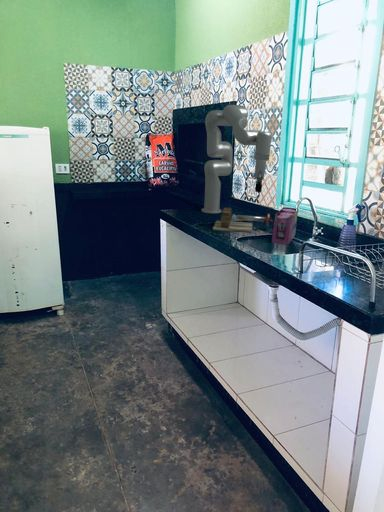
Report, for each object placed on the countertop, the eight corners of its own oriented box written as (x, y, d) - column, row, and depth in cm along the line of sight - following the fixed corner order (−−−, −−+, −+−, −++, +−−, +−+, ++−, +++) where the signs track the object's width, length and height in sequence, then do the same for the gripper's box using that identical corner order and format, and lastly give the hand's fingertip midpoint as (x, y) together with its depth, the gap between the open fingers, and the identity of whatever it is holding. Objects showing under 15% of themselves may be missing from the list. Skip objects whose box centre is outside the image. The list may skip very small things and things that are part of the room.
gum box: (287, 246, 188) (291, 217, 184) (270, 243, 191) (273, 215, 186) (295, 234, 209) (298, 208, 205) (280, 232, 212) (282, 206, 208)
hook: (236, 221, 221) (237, 210, 219) (272, 224, 218) (273, 212, 216) (235, 224, 215) (236, 212, 213) (272, 227, 212) (273, 215, 210)
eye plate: (216, 222, 228) (217, 206, 226) (252, 224, 226) (253, 208, 223) (212, 229, 211) (213, 212, 209) (251, 232, 209) (253, 215, 206)
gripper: (254, 155, 217) (251, 187, 222) (254, 158, 201) (250, 192, 206) (268, 156, 216) (265, 188, 221) (269, 159, 200) (265, 193, 205)
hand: (258, 190), depth 214 cm, fingers open, 9 cm apart
